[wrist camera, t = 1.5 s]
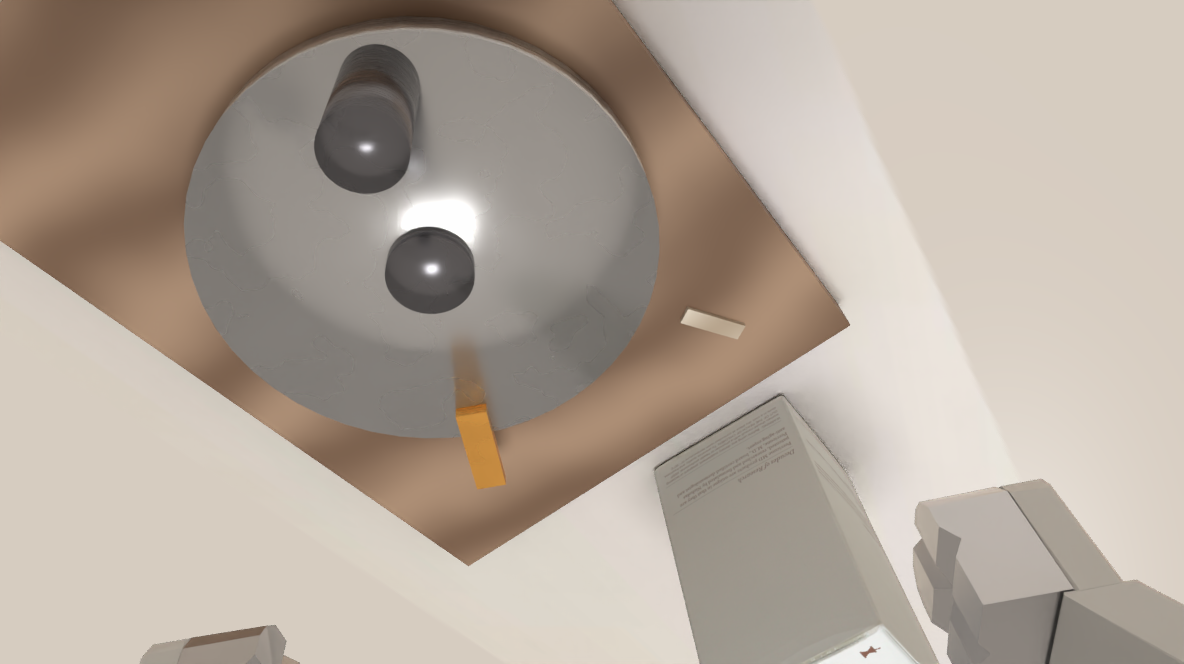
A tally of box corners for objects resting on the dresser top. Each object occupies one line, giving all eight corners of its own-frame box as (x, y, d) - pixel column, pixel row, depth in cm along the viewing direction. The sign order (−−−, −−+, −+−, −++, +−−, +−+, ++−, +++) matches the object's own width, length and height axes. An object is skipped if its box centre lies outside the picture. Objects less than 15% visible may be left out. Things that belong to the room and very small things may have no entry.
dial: (674, 421, 38) (706, 537, 33) (306, 485, 38) (279, 611, 33) (627, -25, 27) (664, 41, 22) (112, 63, 27) (23, 149, 22)
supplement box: (648, 468, 42) (704, 714, 32) (783, 389, 40) (889, 624, 30) (725, 546, 46) (797, 788, 35) (852, 477, 44) (967, 713, 34)
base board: (-108, 129, 29) (-137, 150, 28) (342, -361, 23) (334, -365, 22) (468, 541, 43) (468, 569, 42) (838, 304, 37) (852, 328, 36)
